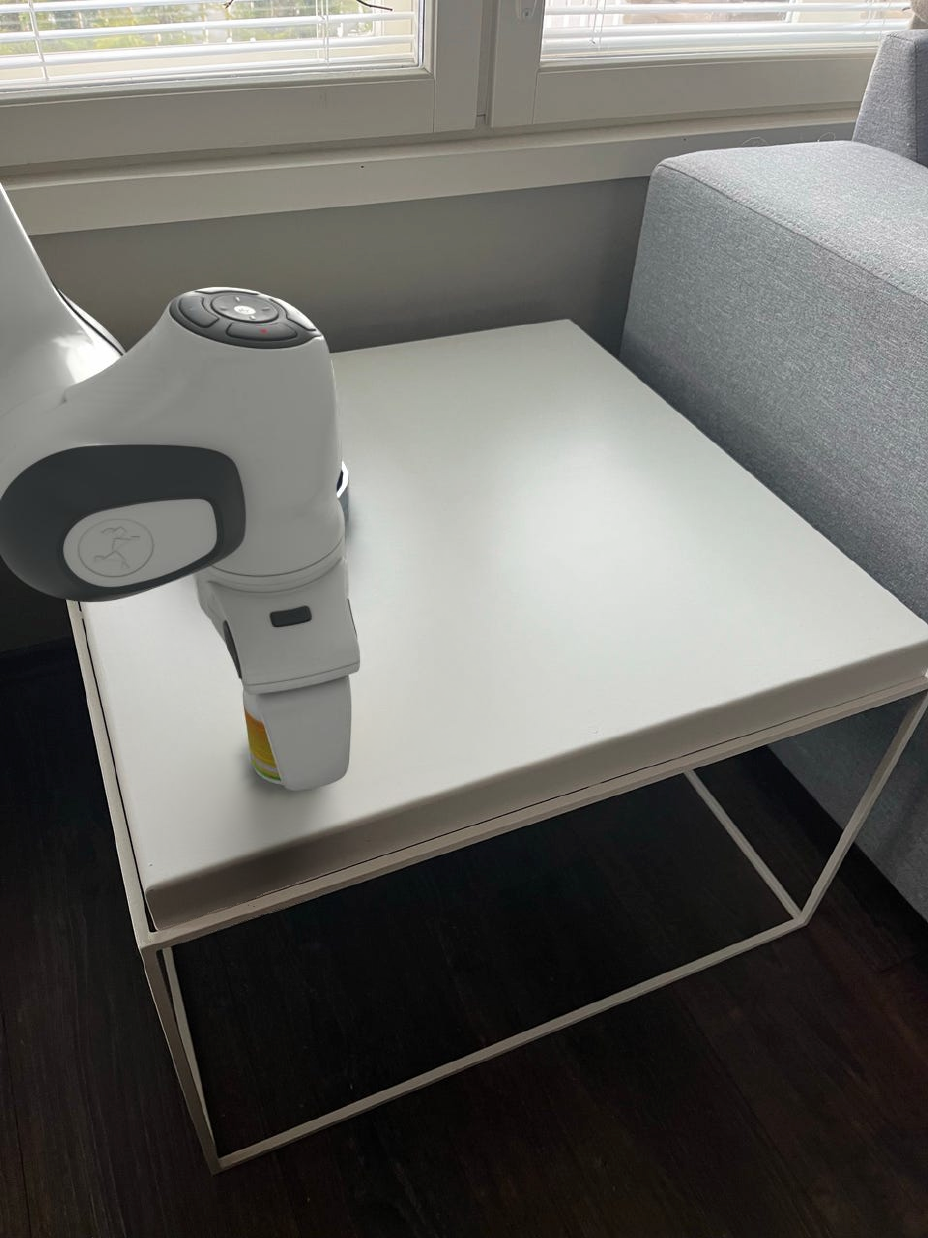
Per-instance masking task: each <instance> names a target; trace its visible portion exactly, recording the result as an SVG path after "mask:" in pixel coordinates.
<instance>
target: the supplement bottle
mask: <svg viewBox="0 0 928 1238" xmlns="http://www.w3.org/2000/svg"><path fill="white" fill-rule="evenodd" d="M242 704H243V712H244V718H245V719H244V720H245V726H246V733H247V739H248V747H249V754H250V760H251V764H252V766H253V769H254V770H255V772H256V773H257V774H258V775H259V777H261V778H262V779H263V780H265V781H267V782H269V783H272V784H275V785H280V786H284V785H283V783H282V781H281V778H280V776H279V773H278V770H277V767H276V764H275V760H274V757H273V754H272V750H271V747H270V744H269V740H268V737H267V734H266V730H265V727H264V724H263V721H262V718H261V715H260V712H259V709H258V706H257V703H256V700H255V697H254V695H249V694H247V693H246V692H245V691H244V689H243V688H242Z"/></svg>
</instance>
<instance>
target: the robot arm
mask: <svg viewBox="0 0 928 1238" xmlns="http://www.w3.org/2000/svg"><path fill="white" fill-rule="evenodd" d="M341 425H342V424H341V414H340V404H339V395H338V389H337V383H336V376H335V369H334V365H333V361H332V357H331V353H330V349H329V345H328V344H327V341H326V339H325V336H324V335H323V334H322V332H321V331H320V330H319V328H318V327H317V326H316V325H315V324H314V323H313V322H312V321H311V320H310V319H309V318H308V317H307V316H306V315H305V314H303V313H302V312H301V311H300V310H299V309H297V308H296V307H295V306H293V305H292V304H290V303H288V302H286V301H284V300H283V299H281V298H277V297H274V296H271V295H267V294H264V293H261V292H260V291H256V290H251V289H246V288H238V287H225V286H218V287H217V286H215V287H204V288H200V289H196V290H190V291H187V292H184V293H181V294H180V295H177V296H176V297H174V298H173V299H172V300H171V301H170V302H169V303H168V305H166V308H165V309H164V311H163V313H162V315H161V316H160V318H159V319H158V321H157V322H156V324H154V326H153V327H152V328H151V329H150V330H149V331H148V332H147V333H146V334H145V335H144V336H142V338H141V339H140V340H138V342H137V343H136V344H135V345H133V346H132V347H131V348H130V349H129V350H128V351H127V352H126V351H125V349H124V348H123V346H122V345H121V344H120V343H119V341H118V340H117V338H115V337H114V335H112V334H111V333H110V332H109V330H108V329H106V328H105V327H104V326H103V325H102V324H101V323H100V322H98V321H97V320H96V319H95V318H94V317H93V316H91V315H89V314H88V313H87V312H86V311H85V310H83V309H82V308H81V307H79V306H78V305H77V304H76V303H75V302H74V301H72V300H71V299H69V298H68V296H66V295H65V294H64V293H63V292H62V291H61V290H60V289H59V288H58V287H57V286H56V284H55V282H54V281H53V280H52V278H51V276H50V275H49V273H48V271H47V270H46V268H45V266H44V264H43V263H42V261H41V259H40V257H39V255H38V254H37V251H36V250H35V247H34V246H33V244H32V241H31V239H30V237H29V236H28V234H27V232H26V230H25V228H24V226H23V224H22V222H21V220H20V219H19V216H18V214H17V213H16V211H15V208H14V207H13V204H12V202H11V201H10V198H9V197H8V194H7V193H6V191H5V189H4V187H3V185H2V184H1V182H0V556H1V558H2V560H3V562H4V563H5V564H6V566H7V567H8V568H9V570H11V572H12V573H13V574H14V575H15V576H17V578H19V579H20V581H22V582H24V583H25V584H27V585H28V586H30V587H31V588H33V589H34V590H37V591H39V592H41V593H42V594H46V595H49V596H50V597H54V598H57V599H62V600H66V601H72V602H77V603H80V602H81V603H104V602H112V601H113V602H114V601H117V600H122V599H126V598H130V597H135V596H137V595H140V594H143V593H145V592H149V591H151V590H155V589H157V588H160V587H163V586H166V585H168V584H170V583H173V582H177V581H178V580H181V579H184V578H186V577H188V576H191V575H192V576H193V581H194V586H195V592H196V598H197V601H198V604H199V607H200V609H201V611H202V613H203V614H204V615H205V616H206V617H207V618H208V619H209V620H210V621H211V624H212V625H213V627H214V629H215V630H216V633H218V635H219V637H220V638H221V639H222V641H223V642H224V644H225V646H226V647H227V651H228V654H229V656H230V658H231V660H232V663H233V665H234V667H235V671H236V674H237V677H238V679H239V680H240V681H241V685H242V690H243V689H244V691H245V692H246V693H247V694H249V695H254V697H255V700H256V703H257V706H258V709H259V712H260V715H261V718H262V721H263V724H264V727H265V730H266V734H267V737H268V740H269V744H270V747H271V750H272V754H273V757H274V760H275V764H276V767H277V770H278V773H279V776H280V778H281V781H282V783H283V785H282V786H283V787H284V788H285V789H286V790H288V791H291V792H298V791H306V790H311V789H317V788H320V787H324V786H327V785H331V784H333V783H337V782H338V781H340V780H342V779H343V778H344V777H345V776H346V774H347V772H348V770H349V764H350V756H351V755H350V754H351V753H350V752H351V739H352V737H351V735H352V708H353V707H352V706H353V705H352V691H351V690H352V689H351V683H350V682H351V681H350V675H352V674H355V673H358V672H359V670H360V667H361V651H360V650H361V649H360V645H359V641H358V633H357V629H356V626H355V622H354V618H353V613H352V608H351V603H350V599H349V567H348V562H347V550H346V549H347V547H346V525H345V520H344V513H343V510H342V506H341V504H340V501H339V499H338V497H337V489H336V487H337V482H338V479H339V476H340V473H341V468H342V460H343V439H342V426H341Z"/></svg>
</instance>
